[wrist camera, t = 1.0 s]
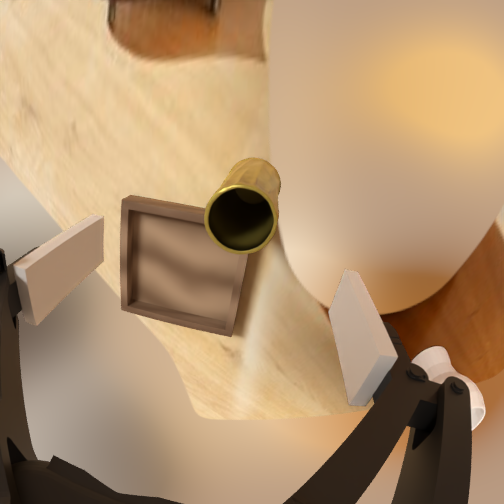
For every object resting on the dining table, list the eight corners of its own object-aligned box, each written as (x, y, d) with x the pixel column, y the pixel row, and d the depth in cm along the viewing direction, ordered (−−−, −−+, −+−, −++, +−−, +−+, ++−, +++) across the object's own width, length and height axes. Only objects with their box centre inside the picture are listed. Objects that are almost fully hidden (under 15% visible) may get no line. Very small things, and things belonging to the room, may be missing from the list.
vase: (286, 165, 33) (294, 190, 20) (272, 215, 36) (271, 269, 23) (233, 152, 33) (206, 168, 20) (222, 202, 36) (191, 249, 22)
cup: (404, 346, 42) (436, 418, 28) (459, 332, 41) (498, 394, 27) (397, 389, 46) (418, 455, 32) (446, 375, 45) (475, 435, 31)
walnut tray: (130, 195, 36) (121, 199, 34) (255, 218, 36) (254, 225, 34) (128, 300, 42) (121, 310, 40) (233, 326, 42) (231, 337, 40)
